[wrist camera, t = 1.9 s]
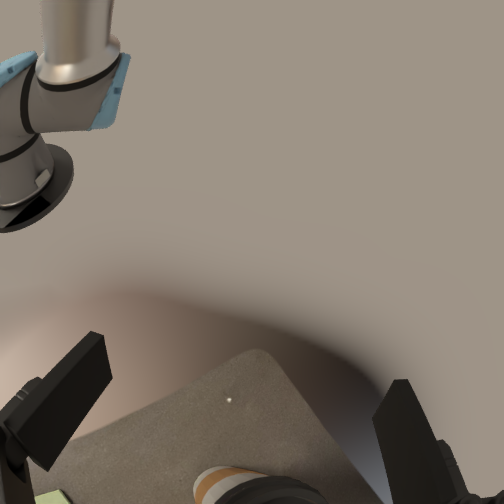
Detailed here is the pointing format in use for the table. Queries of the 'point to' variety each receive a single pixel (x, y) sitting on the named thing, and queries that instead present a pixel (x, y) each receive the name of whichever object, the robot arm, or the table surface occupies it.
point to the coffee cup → (251, 488)
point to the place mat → (52, 498)
